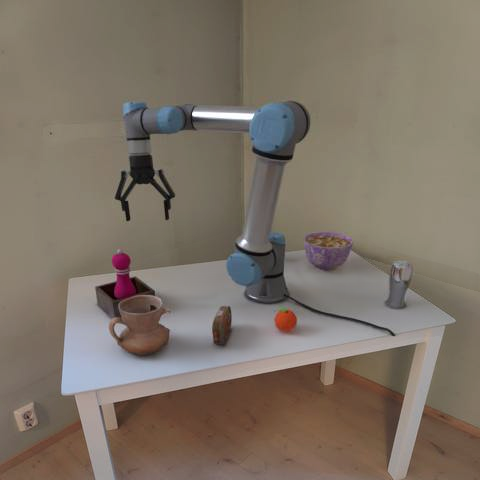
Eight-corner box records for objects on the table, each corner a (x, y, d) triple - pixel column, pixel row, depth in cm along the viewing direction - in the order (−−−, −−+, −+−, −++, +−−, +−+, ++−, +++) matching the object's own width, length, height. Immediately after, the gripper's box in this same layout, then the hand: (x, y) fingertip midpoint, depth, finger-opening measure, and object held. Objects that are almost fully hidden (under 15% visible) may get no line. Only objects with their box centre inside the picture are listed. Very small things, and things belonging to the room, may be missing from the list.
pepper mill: (127, 311, 151) (119, 254, 142) (111, 305, 155) (103, 250, 145) (141, 302, 157) (135, 247, 147) (126, 297, 160) (119, 243, 150)
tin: (221, 350, 132) (221, 325, 128) (211, 349, 132) (210, 324, 128) (232, 325, 145) (232, 301, 141) (223, 324, 145) (222, 300, 141)
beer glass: (409, 304, 158) (417, 264, 151) (400, 311, 154) (408, 270, 146) (390, 298, 162) (397, 258, 155) (381, 304, 158) (388, 264, 151)
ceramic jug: (167, 329, 142) (163, 288, 135) (180, 352, 131) (176, 309, 124) (108, 341, 136) (101, 298, 129) (117, 366, 125) (109, 321, 118)
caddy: (156, 308, 155) (155, 290, 151) (115, 321, 147) (112, 302, 144) (137, 293, 165) (135, 276, 162) (97, 304, 157) (94, 286, 154)
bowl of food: (310, 277, 178) (313, 249, 173) (295, 259, 195) (297, 233, 190) (358, 273, 182) (362, 246, 176) (338, 256, 199) (341, 230, 193)
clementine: (267, 329, 142) (267, 309, 139) (279, 321, 147) (280, 301, 144) (287, 338, 138) (289, 317, 134) (300, 329, 143) (302, 309, 139)
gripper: (180, 152, 150) (185, 216, 159) (106, 155, 152) (115, 218, 160) (175, 153, 143) (181, 221, 152) (99, 156, 145) (108, 223, 153)
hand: (147, 220), depth 156 cm, fingers open, 13 cm apart
